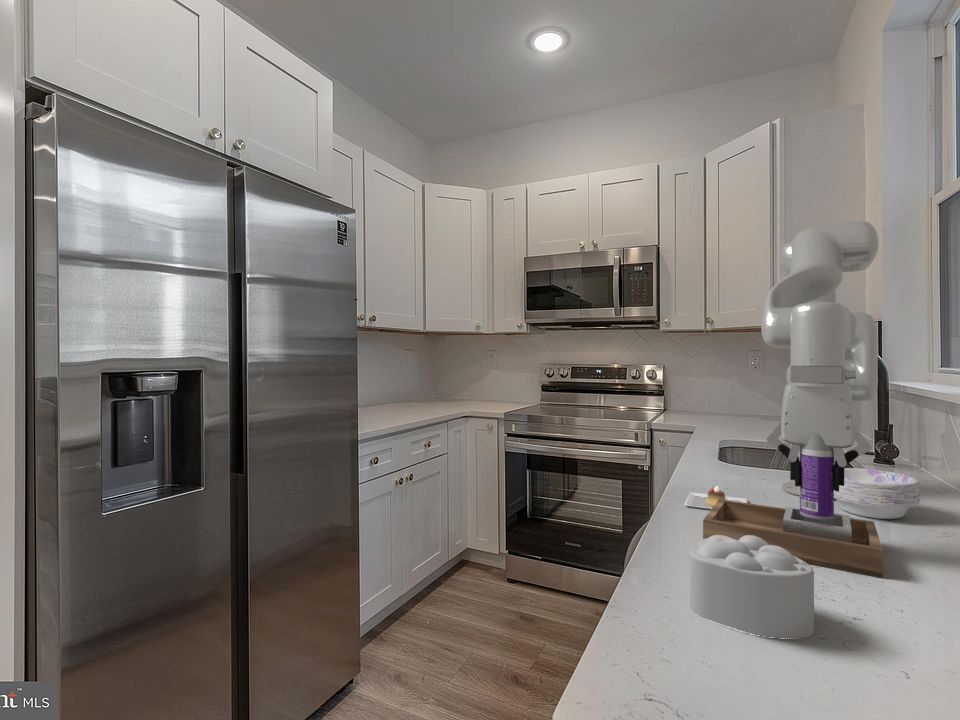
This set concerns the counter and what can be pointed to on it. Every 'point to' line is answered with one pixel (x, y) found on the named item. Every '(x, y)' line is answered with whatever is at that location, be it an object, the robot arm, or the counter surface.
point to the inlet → (818, 525)
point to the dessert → (710, 498)
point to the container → (817, 479)
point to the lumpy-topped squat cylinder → (752, 587)
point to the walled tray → (798, 537)
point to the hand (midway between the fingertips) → (816, 486)
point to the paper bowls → (877, 493)
